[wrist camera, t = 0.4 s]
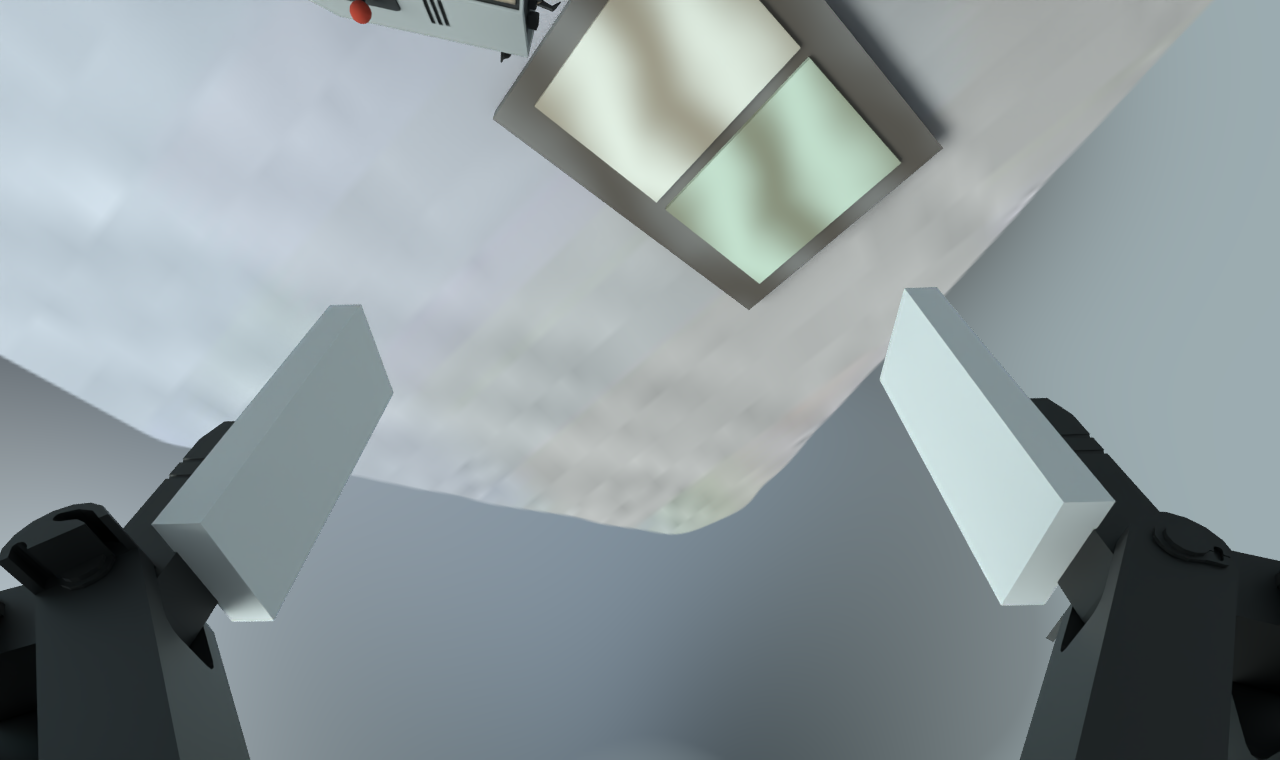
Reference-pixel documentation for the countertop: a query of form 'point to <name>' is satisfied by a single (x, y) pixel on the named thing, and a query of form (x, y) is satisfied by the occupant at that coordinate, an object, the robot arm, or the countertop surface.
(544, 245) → the countertop surface
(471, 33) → the figurine
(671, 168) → the divided rectangular tray
